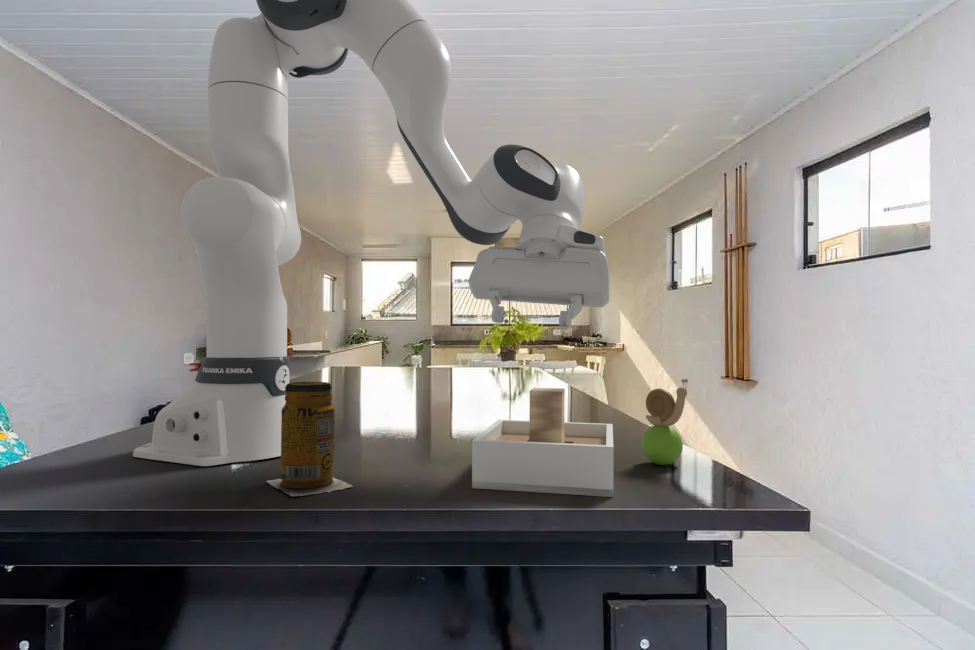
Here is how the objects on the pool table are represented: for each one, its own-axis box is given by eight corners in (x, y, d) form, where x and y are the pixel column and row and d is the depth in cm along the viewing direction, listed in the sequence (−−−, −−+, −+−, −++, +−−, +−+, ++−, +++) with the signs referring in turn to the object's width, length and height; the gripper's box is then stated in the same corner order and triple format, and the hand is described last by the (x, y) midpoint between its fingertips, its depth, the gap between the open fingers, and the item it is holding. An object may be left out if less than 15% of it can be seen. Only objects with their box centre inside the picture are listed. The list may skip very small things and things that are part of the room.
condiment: (323, 473, 73) (324, 379, 73) (353, 488, 66) (354, 384, 66) (265, 483, 68) (266, 382, 68) (291, 499, 62) (292, 388, 62)
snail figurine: (675, 472, 74) (675, 379, 74) (633, 464, 79) (633, 376, 79) (696, 466, 77) (697, 377, 77) (655, 458, 82) (655, 374, 82)
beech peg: (529, 471, 71) (529, 390, 71) (533, 464, 75) (533, 387, 75) (561, 473, 70) (561, 391, 70) (564, 465, 74) (564, 388, 74)
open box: (472, 488, 66) (472, 440, 66) (498, 458, 82) (498, 419, 82) (613, 497, 63) (613, 446, 63) (612, 463, 78) (612, 423, 79)
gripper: (476, 232, 86) (453, 303, 79) (614, 237, 81) (604, 313, 73) (484, 260, 91) (462, 330, 84) (614, 267, 86) (604, 342, 78)
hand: (530, 322), depth 78 cm, fingers open, 8 cm apart
